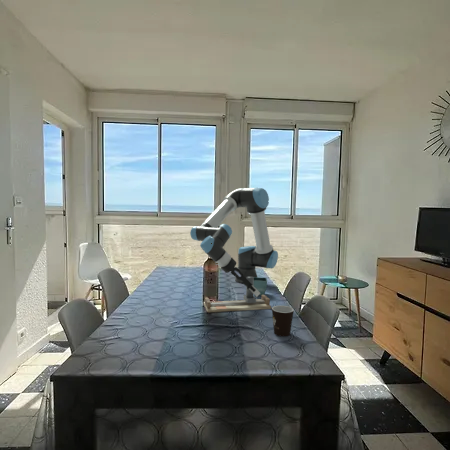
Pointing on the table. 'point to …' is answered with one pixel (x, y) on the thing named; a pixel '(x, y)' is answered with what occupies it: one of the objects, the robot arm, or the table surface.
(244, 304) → the rail
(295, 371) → the table surface
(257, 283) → the flower pot
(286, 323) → the coffee mug
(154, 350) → the table surface
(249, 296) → the carriage
